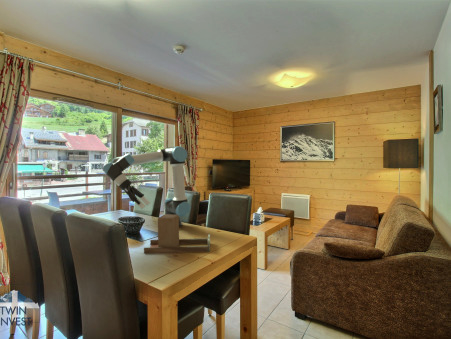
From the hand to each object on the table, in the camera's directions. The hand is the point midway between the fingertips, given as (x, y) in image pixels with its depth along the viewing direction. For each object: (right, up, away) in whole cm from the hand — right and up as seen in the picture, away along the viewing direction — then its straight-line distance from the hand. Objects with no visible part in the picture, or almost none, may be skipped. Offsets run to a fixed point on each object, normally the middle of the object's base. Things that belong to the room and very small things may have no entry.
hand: (146, 205), depth 160 cm
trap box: (+23, -24, -10) cm, 35 cm away
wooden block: (+17, -25, -11) cm, 32 cm away
